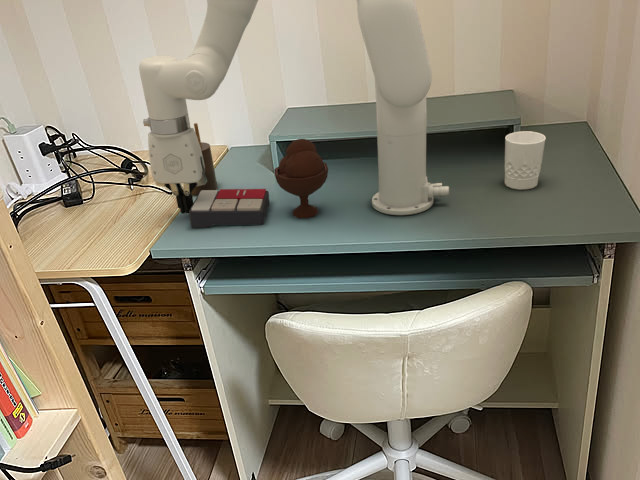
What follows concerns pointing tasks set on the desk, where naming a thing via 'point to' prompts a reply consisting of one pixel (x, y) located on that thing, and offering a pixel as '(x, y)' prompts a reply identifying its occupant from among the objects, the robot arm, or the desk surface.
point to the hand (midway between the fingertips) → (186, 210)
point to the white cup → (523, 159)
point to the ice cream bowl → (302, 174)
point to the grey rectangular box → (229, 207)
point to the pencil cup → (206, 166)
